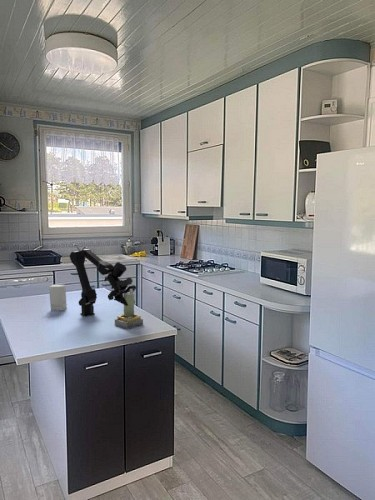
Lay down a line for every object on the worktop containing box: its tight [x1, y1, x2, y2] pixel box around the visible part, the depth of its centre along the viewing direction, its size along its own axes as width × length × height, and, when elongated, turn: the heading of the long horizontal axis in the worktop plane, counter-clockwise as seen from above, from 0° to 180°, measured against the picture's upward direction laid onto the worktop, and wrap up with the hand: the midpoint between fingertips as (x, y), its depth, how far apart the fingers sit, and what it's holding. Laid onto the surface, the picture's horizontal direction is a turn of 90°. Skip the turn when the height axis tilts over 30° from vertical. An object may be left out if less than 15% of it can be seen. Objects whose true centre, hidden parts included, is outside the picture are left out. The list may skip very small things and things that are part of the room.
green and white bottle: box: [123, 289, 135, 317], centre depth 213 cm, size 6×6×15 cm
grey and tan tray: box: [114, 313, 144, 330], centre depth 213 cm, size 11×11×4 cm
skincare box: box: [48, 284, 68, 312], centre depth 243 cm, size 8×7×16 cm
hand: (130, 304), depth 213 cm, fingers closed on green and white bottle, 6 cm apart
